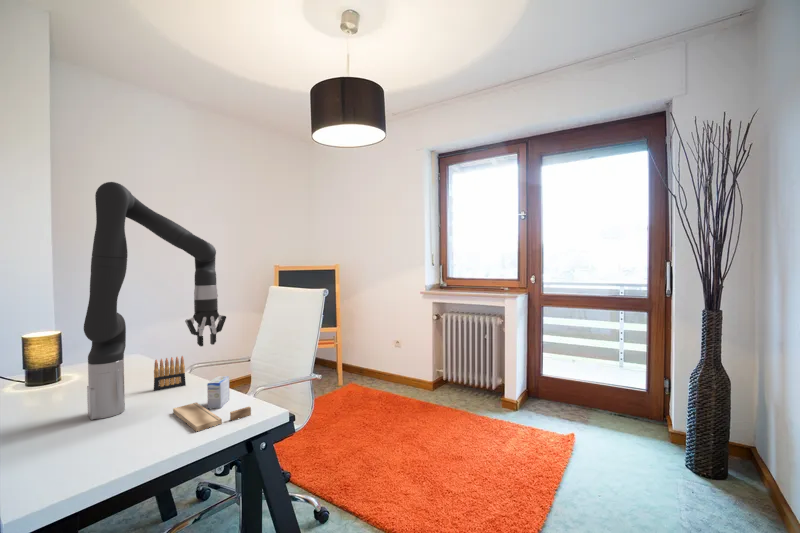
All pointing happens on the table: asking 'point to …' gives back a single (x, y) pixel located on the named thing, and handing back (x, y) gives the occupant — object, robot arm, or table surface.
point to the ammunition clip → (172, 379)
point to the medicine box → (218, 391)
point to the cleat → (240, 413)
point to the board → (197, 416)
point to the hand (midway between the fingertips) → (206, 344)
